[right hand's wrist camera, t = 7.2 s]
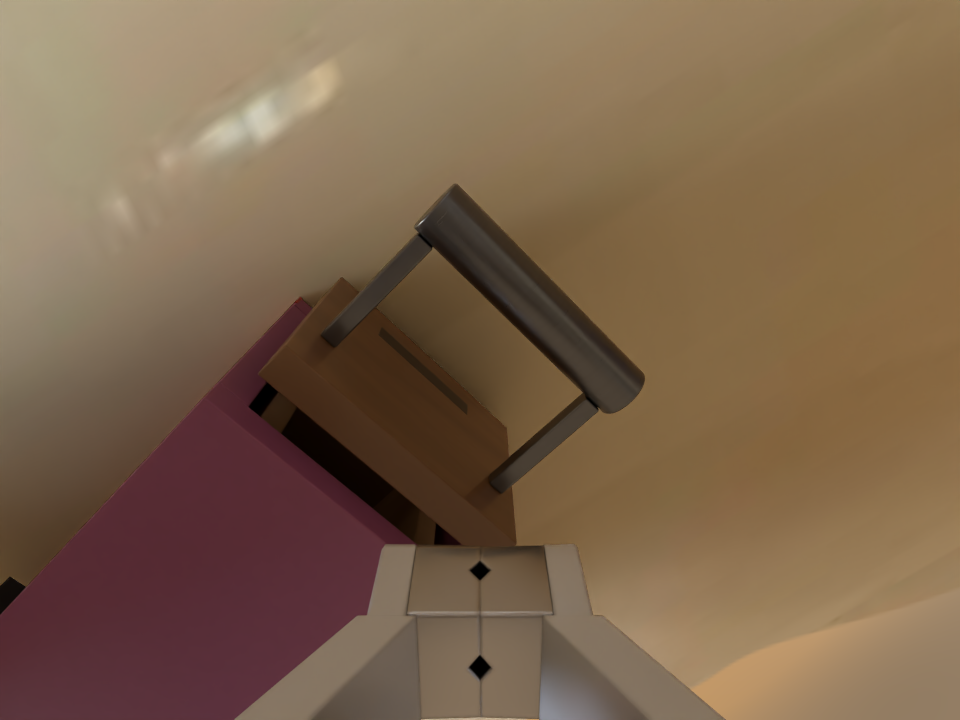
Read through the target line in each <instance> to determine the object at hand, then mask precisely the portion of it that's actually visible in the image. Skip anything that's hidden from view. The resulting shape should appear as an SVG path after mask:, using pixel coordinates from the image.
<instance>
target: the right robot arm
mask: <svg viewBox="0 0 960 720" xmlns="http://www.w3.org/2000/svg"><path fill="white" fill-rule="evenodd" d="M471 717H488V718H523V719H539V720H725V719H724V718H723V717H722V716H721V715H720V714H718V713H717V712H716V711H715V710H714V709H712V708H711V707H710V706H709V705H708V704H707V703H705V702H704V701H703V700H702V699H701V698H699V697H698V696H697V695H696V694H695V693H694V692H692V691H691V690H690V689H689V688H688V687H686V686H685V685H684V684H683V683H682V682H681V681H679V680H678V679H677V678H676V677H675V676H674V675H672V674H671V673H670V672H669V671H668V670H666V669H665V668H664V667H663V666H662V665H661V664H659V663H658V662H657V661H656V660H655V659H653V658H652V657H651V656H650V655H649V654H648V653H646V652H645V651H644V650H643V649H642V648H640V647H639V646H638V645H637V644H636V643H635V642H633V641H632V640H631V639H630V638H629V637H627V636H626V635H625V634H624V633H623V632H622V631H620V630H619V629H618V628H617V627H616V626H614V625H613V624H612V623H611V622H610V621H609V620H607V619H606V618H605V617H604V616H600V615H593V613H592V608H591V604H590V599H589V595H588V591H587V586H586V582H585V578H584V573H583V569H582V564H581V560H580V556H579V551H578V547H577V546H576V545H575V544H552V545H543V546H473V545H426V544H418V545H415V544H385V546H384V547H383V548H382V551H381V555H380V559H379V564H378V568H377V573H376V577H375V582H374V586H373V590H372V595H371V599H370V604H369V608H368V613H367V615H361V616H356V617H355V618H354V619H353V620H351V621H350V622H349V623H348V624H347V625H346V626H344V627H343V628H342V629H341V630H340V631H338V632H337V633H336V634H335V635H334V636H332V637H331V638H330V639H329V640H328V641H327V642H325V643H324V644H323V645H322V646H321V647H319V648H318V649H317V650H316V651H315V652H313V653H312V654H311V655H310V656H309V657H308V658H306V659H305V660H304V661H303V662H302V663H300V664H299V665H298V666H297V667H296V668H295V669H293V670H292V671H291V672H290V673H289V674H287V675H286V676H285V677H284V678H283V679H281V680H280V681H279V682H278V683H277V684H276V685H274V686H273V687H272V688H271V689H270V690H268V691H267V692H266V693H265V694H264V695H262V696H261V697H260V698H259V699H258V700H257V701H255V702H254V703H253V704H252V705H251V706H249V707H248V708H247V709H246V710H245V711H244V712H242V713H241V714H240V715H239V716H238V717H236V718H235V720H421V719H437V718H471Z"/></svg>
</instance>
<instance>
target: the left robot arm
mask: <svg viewBox="0 0 960 720" xmlns="http://www.w3.org/2000/svg"><path fill="white" fill-rule="evenodd" d="M25 588H26V587H25V586H24V585H22V584H21V583H19V582H18V581H16V580H15V579H13V578H12V577H9V578H8V579H7V580H6V581H5V582H4V583H3V584H2V585H1V586H0V615H1V614H2V612H3V611H4V610H5V609H6V608H7V607H8V606H9V605H10V604H11V603H12V602H13V601H14V600H15V599H16V597H17V596H18V595H19V594H20V593H21V592H22V591H23V590H24V589H25Z"/></svg>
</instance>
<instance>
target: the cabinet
mask: <svg viewBox="0 0 960 720" xmlns="http://www.w3.org/2000/svg"><path fill="white" fill-rule="evenodd" d="M311 310H312V308H311V307H310V306H309V305H308V304H307V303H305V302H304V301H303V300H302V298H301V297H299V298H298V299H297V300H296V301H295V302H294V304H293V305H292V306H291V307H290V308H289V309H288V310H287V311H286V312H285V313H284V314H283V315H282V316H281V317H280V318H279V319H278V320H277V321H276V323H275V324H274V325H273V326H272V327H271V328H270V329H269V330H268V331H267V332H266V333H265V334H264V335H263V336H262V337H261V338H260V339H259V340H258V341H257V342H256V343H255V344H254V345H253V346H252V347H251V348H250V349H249V350H248V352H247V353H246V354H245V355H244V356H243V357H242V358H241V359H240V360H239V361H238V362H237V363H236V364H235V365H234V366H233V367H232V368H231V369H230V370H229V371H228V372H227V373H226V374H225V375H224V376H223V377H222V378H221V380H220V381H219V382H218V383H217V384H216V385H215V386H214V387H213V388H212V389H211V390H210V391H209V392H208V393H207V394H206V395H205V396H204V397H203V398H202V399H201V400H200V401H199V402H198V404H197V405H196V406H195V407H194V408H193V409H192V410H191V411H190V412H189V413H188V414H187V415H186V416H185V417H184V419H183V420H182V421H181V422H180V423H179V424H178V425H177V426H176V427H175V428H174V429H173V430H172V431H171V432H170V434H169V435H168V436H167V437H166V438H165V439H164V440H163V441H162V442H161V443H160V444H159V445H158V446H157V447H156V449H155V450H154V451H153V452H152V453H151V454H150V455H149V456H148V457H147V458H146V459H145V460H144V461H143V462H142V464H141V465H140V466H139V467H138V468H137V469H136V470H135V471H134V472H133V473H132V474H131V475H130V476H129V477H128V479H127V480H126V481H125V482H124V483H123V484H122V485H121V486H120V487H119V488H118V489H117V490H116V491H115V492H114V494H113V495H112V496H111V497H110V498H109V499H108V500H107V501H106V502H105V503H104V504H103V505H102V506H101V507H100V509H99V510H98V511H97V512H96V513H95V514H94V515H93V516H92V517H91V518H90V519H89V520H88V521H87V522H86V524H85V525H84V526H83V527H82V528H81V529H80V530H79V531H78V532H77V533H76V534H75V535H74V536H73V537H72V539H71V540H70V541H69V542H68V543H67V544H66V545H65V546H64V547H63V548H62V549H61V550H60V551H59V552H58V554H57V555H56V556H55V557H54V558H53V559H52V560H51V561H50V562H49V563H48V564H47V565H46V566H45V567H44V569H43V570H42V571H41V572H40V573H39V574H38V575H37V576H36V577H35V578H34V579H33V580H32V581H31V582H30V584H29V585H28V586H27V587H26V588H25V589H24V590H23V591H22V592H21V593H20V594H19V595H18V596H17V597H16V599H15V600H14V601H13V602H12V603H11V604H10V605H9V606H8V607H7V608H6V609H5V610H4V611H3V612H2V614H1V615H0V720H235V718H236V717H238V716H239V715H240V714H241V713H242V712H244V711H245V710H246V709H247V708H248V707H249V706H251V705H252V704H253V703H254V702H255V701H257V700H258V699H259V698H260V697H261V696H262V695H264V694H265V693H266V692H267V691H268V690H270V689H271V688H272V687H273V686H274V685H276V684H277V683H278V682H279V681H280V680H281V679H283V678H284V677H285V676H286V675H287V674H289V673H290V672H291V671H292V670H293V669H295V668H296V667H297V666H298V665H299V664H300V663H302V662H303V661H304V660H305V659H306V658H308V657H309V656H310V655H311V654H312V653H313V652H315V651H316V650H317V649H318V648H319V647H321V646H322V645H323V644H324V643H325V642H327V641H328V640H329V639H330V638H331V637H332V636H334V635H335V634H336V633H337V632H338V631H340V630H341V629H342V628H343V627H344V626H346V625H347V624H348V623H349V622H350V621H351V620H353V619H354V618H355V617H356V616H361V615H367V613H368V608H369V604H370V599H371V595H372V590H373V586H374V582H375V577H376V573H377V568H378V564H379V559H380V555H381V551H382V548H383V547H384V546H385V544H415V545H417V544H416V543H414V542H413V541H412V540H411V539H410V538H408V537H407V536H406V535H405V534H403V533H402V532H401V531H400V530H399V529H397V528H396V527H395V526H394V525H392V524H391V523H390V522H389V521H387V520H386V519H385V518H384V517H383V516H381V515H380V514H379V513H378V512H376V511H375V510H374V509H373V508H372V507H370V506H369V505H368V504H367V503H365V502H364V501H363V500H362V499H360V498H359V497H358V496H357V495H356V494H354V493H353V492H352V491H351V490H349V489H348V488H347V487H346V486H345V485H343V484H342V483H341V482H340V481H338V480H337V479H336V478H335V477H333V476H332V475H331V474H330V473H329V472H327V471H326V470H325V469H324V468H322V467H321V466H320V465H319V464H318V463H316V462H315V461H314V460H313V459H311V458H310V457H309V456H308V455H306V454H305V453H304V452H303V451H302V450H300V449H299V448H298V447H297V446H295V445H294V444H293V443H292V442H291V441H289V440H288V439H287V438H286V437H284V436H283V435H282V434H281V433H279V432H278V431H277V430H276V429H275V428H273V427H272V426H271V425H270V424H268V423H267V422H266V421H265V420H264V419H262V418H261V417H260V416H259V415H257V414H256V413H255V412H254V411H252V410H251V408H252V407H253V406H254V405H255V404H256V403H257V402H258V401H259V400H260V398H261V397H262V396H263V395H264V394H265V393H266V392H267V391H268V390H269V389H270V388H271V387H272V386H271V385H270V384H269V383H267V382H266V381H265V380H264V379H263V378H261V377H260V376H259V375H258V373H259V371H260V370H261V369H262V368H263V367H264V365H265V364H266V363H267V362H268V361H269V359H270V358H271V357H272V356H273V355H274V354H275V352H276V351H277V350H278V349H279V348H280V346H281V345H282V344H283V343H284V342H285V341H286V339H287V338H288V337H289V336H290V335H291V333H292V332H293V331H294V330H295V329H296V328H297V326H298V325H299V324H300V323H301V322H302V320H303V319H304V318H305V317H306V316H307V315H308V313H309V312H310V311H311ZM434 545H462V544H461V543H459V542H458V541H457V540H456V539H455V538H453V537H452V536H451V535H450V534H449V533H447V532H446V531H445V530H444V529H443V528H441V527H440V526H439V525H438V524H437V523H436V530H435V539H434Z"/></svg>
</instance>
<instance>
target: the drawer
mask: <svg viewBox="0 0 960 720" xmlns="http://www.w3.org/2000/svg"><path fill="white" fill-rule="evenodd" d="M414 228H415V230H416V231H417V233H416V234H415V235H414V236H413V237H412V238H411V240H410V241H409V242H408V243H407V244H406V245H405V246H404V247H403V248H402V249H401V250H400V251H399V252H398V253H397V254H396V255H395V256H394V257H393V258H392V259H391V260H390V261H389V262H388V263H387V264H386V265H385V266H384V268H383V269H382V270H381V271H380V272H379V273H378V274H377V275H376V276H375V277H374V278H373V279H372V280H371V281H370V282H369V283H368V284H367V285H366V286H365V287H364V288H363V289H362V290H361V291H360V292H358V291H357V290H356V289H355V288H353V287H352V286H351V285H350V284H349V283H348V282H347V281H346V280H345V279H344V278H342V277H341V278H340V279H339V280H338V281H337V282H336V283H335V284H334V285H333V286H332V287H331V288H330V289H329V291H328V292H327V293H326V294H325V295H324V296H323V297H322V298H321V299H320V300H319V302H318V303H317V304H316V305H315V306H314V307H313V309H312V310H311V311H310V312H309V313H308V315H307V316H306V317H305V318H304V319H303V320H302V322H301V323H300V324H299V325H298V326H297V328H296V329H295V330H294V331H293V332H292V333H291V335H290V336H289V337H288V338H287V339H286V341H285V342H284V343H283V344H282V345H281V346H280V348H279V349H278V350H277V351H276V352H275V354H274V355H273V356H272V357H271V358H270V359H269V361H268V362H267V363H266V364H265V365H264V367H263V368H262V369H261V370H260V371H259V373H258V375H259V376H260V377H261V378H263V379H264V380H265V381H266V382H267V383H269V384H270V385H271V386H272V387H271V388H270V389H269V390H268V391H267V392H266V393H265V394H264V395H263V396H262V397H261V398H260V400H259V401H258V402H257V403H256V404H255V405H254V406H253V407H252V408H251V410H252V411H254V412H255V413H256V414H257V415H259V416H260V417H261V418H262V419H264V420H265V421H266V422H267V423H268V424H270V425H271V426H272V427H273V428H275V429H276V430H277V431H278V432H279V433H281V434H282V435H283V436H284V437H286V438H287V439H288V440H289V441H291V442H292V443H293V444H294V445H295V446H297V447H298V448H299V449H300V450H302V451H303V452H304V453H305V454H306V455H308V456H309V457H310V458H311V459H313V460H314V461H315V462H316V463H318V464H319V465H320V466H321V467H322V468H324V469H325V470H326V471H327V472H329V473H330V474H331V475H332V476H333V477H335V478H336V479H337V480H338V481H340V482H341V483H342V484H343V485H345V486H346V487H347V488H348V489H349V490H351V491H352V492H353V493H354V494H356V495H357V496H358V497H359V498H360V499H362V500H363V501H364V502H365V503H367V504H368V505H369V506H370V507H372V508H373V509H374V510H375V511H376V512H378V513H379V514H380V515H381V516H383V517H384V518H385V519H386V520H387V521H389V522H390V523H391V524H392V525H394V526H395V527H396V528H397V529H399V530H400V531H401V532H402V533H403V534H405V535H406V536H407V537H408V538H410V539H411V540H412V541H413V542H414V543H416V544H417V545H418V544H426V545H434V539H435V530H436V523H437V524H438V525H439V526H440V527H441V528H443V529H444V530H445V531H446V532H447V533H449V534H450V535H451V536H452V537H453V538H455V539H456V540H457V541H458V542H459V543H461V544H462V545H473V546H515V545H516V544H517V542H516V530H515V518H514V507H513V495H512V485H513V484H514V483H515V482H516V481H518V480H519V479H520V478H521V477H522V476H523V475H525V474H526V473H527V472H528V471H529V470H530V469H532V468H533V467H534V466H535V465H536V464H537V463H539V462H540V461H541V460H542V459H543V458H544V457H546V456H547V455H548V454H549V453H550V452H551V451H553V450H554V449H555V448H556V447H557V446H558V445H560V444H561V443H562V442H563V441H564V440H565V439H567V438H568V437H569V436H570V435H571V434H572V433H574V432H575V431H576V430H577V429H578V428H579V427H581V426H582V425H583V424H584V423H585V422H586V421H588V420H589V419H590V418H591V417H592V416H593V415H595V414H596V413H597V412H598V408H599V409H600V410H601V411H602V412H604V413H607V414H611V413H615V412H617V411H619V410H621V409H623V408H624V407H626V406H627V405H628V404H629V403H630V402H632V401H633V400H634V398H635V397H636V396H637V395H638V394H639V392H640V391H641V389H642V387H643V385H644V382H645V376H644V374H643V373H642V371H641V370H640V369H639V368H638V367H637V366H636V365H635V364H634V363H633V362H632V361H631V360H630V359H629V358H628V357H627V356H626V355H625V354H624V353H623V352H622V351H621V350H620V349H619V348H618V347H617V346H616V345H615V344H614V343H613V342H612V341H611V340H610V339H609V338H608V337H607V336H606V335H605V334H604V333H603V332H602V331H601V330H600V329H599V328H598V327H597V326H596V325H595V324H594V323H593V322H592V321H591V320H590V319H589V318H588V317H587V316H586V315H585V314H584V312H583V311H582V310H581V309H580V308H579V307H578V306H577V305H576V304H575V303H574V302H573V301H572V300H571V299H570V298H569V297H568V296H567V295H566V294H565V293H564V292H563V291H562V290H561V289H560V288H559V287H558V286H557V285H556V284H555V283H554V282H553V281H552V280H551V279H550V278H549V277H548V276H547V275H546V274H545V273H544V272H543V271H542V270H541V269H540V268H539V267H538V266H537V265H536V264H535V263H534V262H533V261H532V260H531V259H530V258H529V257H528V256H527V254H526V253H525V252H524V251H523V250H522V249H521V248H520V247H519V246H518V245H517V244H516V243H515V242H514V241H513V240H512V239H511V238H510V237H509V236H508V235H507V234H506V233H505V232H504V231H503V230H502V229H501V228H500V227H499V226H498V225H497V224H496V223H495V222H494V221H493V220H492V219H491V218H490V217H489V216H488V215H487V214H486V213H485V212H484V211H483V210H482V209H481V208H480V207H479V206H478V205H477V204H476V203H475V202H474V201H473V200H472V199H471V198H470V196H469V195H468V194H467V193H466V192H465V191H464V190H463V189H462V188H461V187H460V186H459V185H458V184H456V183H455V184H453V185H452V186H451V187H450V188H449V189H448V190H447V191H446V192H445V193H444V194H443V195H442V196H441V197H440V198H439V199H438V200H437V201H436V202H435V203H434V204H433V205H432V206H431V207H430V208H429V209H428V211H427V212H426V213H425V214H424V215H423V216H422V217H421V218H420V219H419V221H418V222H417V223H416V224H415V226H414ZM433 247H434V248H435V249H436V250H437V251H438V252H439V253H440V254H441V255H442V256H443V257H444V258H445V259H446V260H447V261H448V262H449V263H450V264H451V265H452V266H453V267H454V268H455V269H456V270H457V271H459V272H460V273H461V274H462V275H463V276H464V277H465V278H466V279H467V280H468V281H469V282H470V283H471V284H472V285H473V286H474V287H475V288H476V289H477V290H478V291H479V292H480V293H481V294H482V295H483V296H484V297H485V298H486V299H487V300H488V301H489V302H490V303H491V304H492V305H493V306H494V307H496V308H497V309H498V310H499V311H500V312H501V313H502V314H503V315H504V316H505V317H506V318H507V319H508V320H509V321H510V322H511V323H512V324H513V325H514V326H515V327H516V328H517V329H518V330H519V331H520V332H521V333H522V334H523V335H524V336H525V337H526V338H527V339H528V340H529V341H530V342H531V343H533V344H534V345H535V346H536V347H537V348H538V349H539V350H540V351H541V352H542V353H543V354H544V355H545V356H546V357H547V358H548V359H549V360H550V361H551V362H552V363H553V364H554V365H555V366H556V367H557V368H558V369H559V370H560V371H561V372H562V373H563V374H564V375H565V376H566V377H567V378H568V379H570V380H571V381H572V382H573V383H574V384H575V385H576V386H577V387H578V388H579V389H580V390H581V391H582V392H583V393H582V394H581V395H580V396H579V397H578V398H577V399H575V400H574V401H573V402H572V403H571V404H570V405H569V406H567V407H566V408H565V409H564V410H563V411H562V412H561V413H559V414H558V415H557V416H556V417H555V418H554V419H552V420H551V421H550V422H549V423H548V424H547V425H546V426H544V427H543V428H542V429H541V430H540V431H539V432H538V433H536V434H535V435H534V436H533V437H532V438H531V439H530V440H528V441H527V442H526V443H525V444H524V445H523V446H522V447H520V448H519V449H518V450H517V451H516V452H515V453H514V454H512V455H511V456H510V457H509V449H508V438H507V428H506V427H505V426H504V425H503V424H502V423H501V422H500V421H499V420H498V419H497V418H495V417H494V416H493V415H492V414H491V413H490V412H489V411H488V410H487V409H486V408H485V407H483V406H482V405H481V404H480V403H479V402H478V401H477V400H476V399H475V398H474V397H473V396H471V395H470V394H469V393H468V392H467V391H466V390H465V389H464V388H463V387H462V386H461V385H459V384H458V383H457V382H456V381H455V380H454V379H453V378H452V377H451V376H450V375H448V374H447V373H446V372H445V371H444V370H443V369H442V368H441V367H440V366H439V365H438V364H436V363H435V362H434V361H433V360H432V359H431V358H430V357H429V356H428V355H427V354H426V353H424V352H423V351H422V350H421V349H420V348H419V347H418V346H417V345H416V344H415V343H414V342H412V341H411V340H410V339H409V338H408V337H407V336H406V335H405V334H404V333H403V332H402V331H400V330H399V329H398V328H397V327H396V326H395V325H394V324H393V323H392V322H391V321H389V320H388V319H387V318H386V317H385V316H384V315H383V314H382V313H381V312H380V311H379V310H377V309H376V308H375V307H376V306H377V305H378V304H379V303H380V302H381V301H382V300H383V299H384V298H385V297H386V296H387V295H388V294H389V293H390V292H391V291H392V290H393V289H394V288H395V287H396V286H397V285H398V284H399V283H400V282H401V281H402V280H403V279H404V278H405V277H406V276H407V275H408V274H409V273H410V272H411V271H412V270H413V268H414V267H415V266H416V265H417V264H418V263H419V262H420V261H421V260H422V259H423V258H424V257H425V256H426V255H427V254H428V253H429V252H430V251H431V250H432V248H433Z"/></svg>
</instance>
